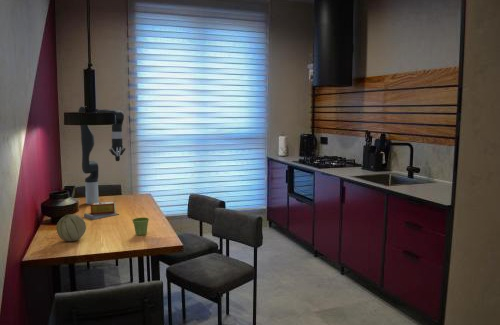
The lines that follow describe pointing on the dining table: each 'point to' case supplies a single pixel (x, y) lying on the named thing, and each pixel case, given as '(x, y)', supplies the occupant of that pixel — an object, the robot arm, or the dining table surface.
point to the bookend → (99, 215)
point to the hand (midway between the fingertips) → (117, 161)
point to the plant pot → (140, 225)
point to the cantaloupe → (71, 227)
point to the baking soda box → (103, 207)
